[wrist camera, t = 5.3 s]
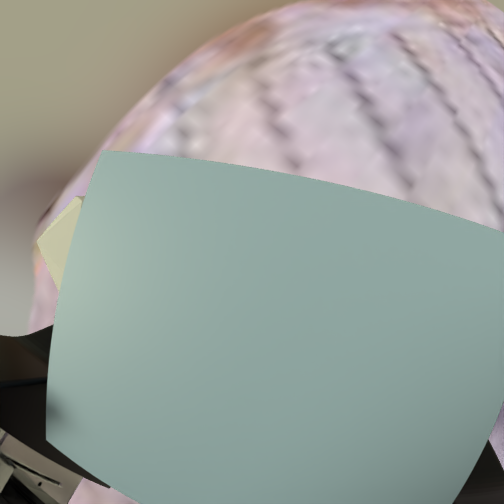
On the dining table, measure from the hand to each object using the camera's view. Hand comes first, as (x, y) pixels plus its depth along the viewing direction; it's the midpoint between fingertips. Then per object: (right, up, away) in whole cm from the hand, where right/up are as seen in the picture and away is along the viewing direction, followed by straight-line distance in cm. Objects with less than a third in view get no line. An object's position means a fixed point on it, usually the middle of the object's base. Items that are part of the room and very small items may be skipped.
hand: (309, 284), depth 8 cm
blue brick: (+1, -2, +6) cm, 7 cm away
